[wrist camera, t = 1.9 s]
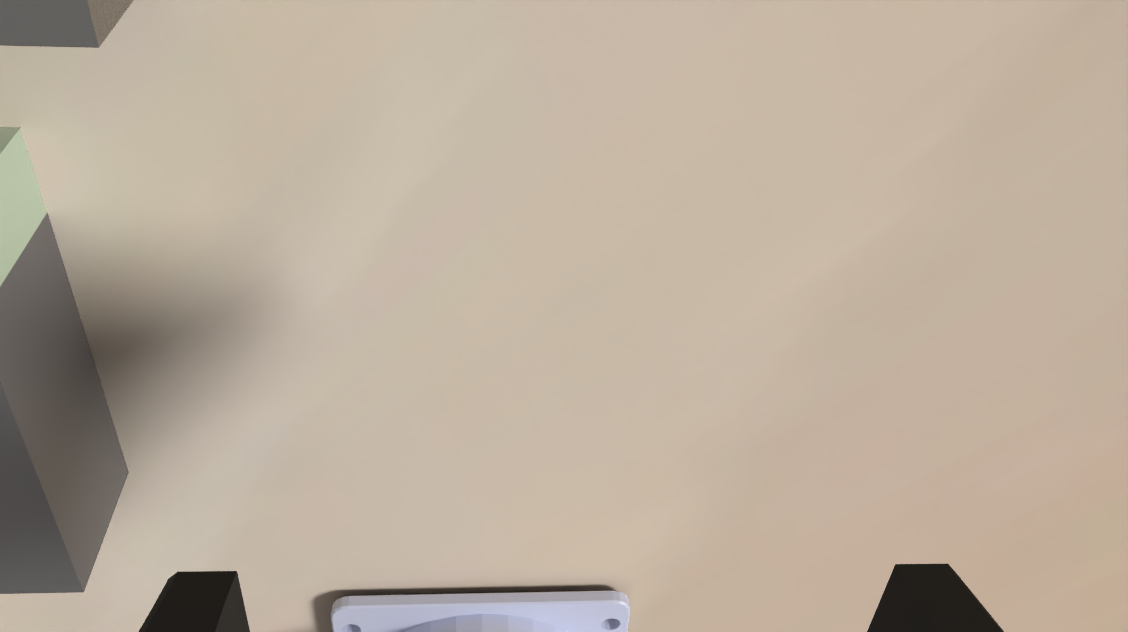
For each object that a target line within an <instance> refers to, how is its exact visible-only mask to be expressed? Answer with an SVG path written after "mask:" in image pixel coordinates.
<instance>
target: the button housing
mask: <svg viewBox="0 0 1128 632" xmlns="http://www.w3.org/2000/svg"><path fill="white" fill-rule="evenodd" d="M132 2H133V0H0V45H8V46H52V47H95V48H99V47H100V45H101V44H102V43H103V41H104V40H105V39H106V37H107V36H108V34H109V33H110V32H111V30H112V29H113V28H114V26H115V25H116V24H117V22H118V21H119V19H120V18H121V17H122V15H123V14H124V13H125V11H126V10H127V8H128V7H129V6H130V4H131V3H132Z"/></svg>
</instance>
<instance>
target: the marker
mask: <svg viewBox="0 0 1128 632" xmlns="http://www.w3.org/2000/svg"><path fill="white" fill-rule="evenodd" d="M127 475H128V469H127V466H126V463H125V460H124V456H123V453H122V450H121V447H120V444H119V440H118V437H117V434H116V431H115V428H114V424H113V421H112V418H111V415H110V412H109V408H108V405H107V402H106V399H105V396H104V392H103V389H102V386H101V383H100V380H99V376H98V373H97V370H96V367H95V364H94V360H93V357H92V354H91V351H90V348H89V344H88V341H87V338H86V335H85V332H84V328H83V325H82V322H81V319H80V316H79V312H78V309H77V306H76V303H75V300H74V296H73V293H72V290H71V287H70V284H69V280H68V277H67V274H66V271H65V268H64V264H63V261H62V258H61V255H60V252H59V248H58V245H57V242H56V239H55V236H54V232H53V229H52V226H51V223H50V220H49V216H48V213H47V210H46V207H45V203H44V200H43V197H42V194H41V191H40V187H39V184H38V181H37V178H36V175H35V171H34V168H33V165H32V162H31V159H30V155H29V152H28V149H27V146H26V143H25V139H24V136H23V133H22V130H21V127H0V594H14V593H67V592H84V590H85V587H86V584H87V582H88V579H89V576H90V574H91V571H92V568H93V566H94V563H95V560H96V558H97V555H98V552H99V550H100V547H101V544H102V542H103V539H104V536H105V534H106V531H107V528H108V526H109V523H110V520H111V518H112V515H113V512H114V510H115V507H116V504H117V502H118V499H119V496H120V494H121V491H122V488H123V486H124V483H125V480H126V478H127Z"/></svg>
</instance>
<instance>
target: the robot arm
mask: <svg viewBox="0 0 1128 632" xmlns="http://www.w3.org/2000/svg"><path fill="white" fill-rule="evenodd" d="M629 617H630V605H629V598H628V597H627V596H626V595H625V594H624V593H621V592H619V591H567V592H517V593H467V594H416V595H366V596H345V597H342V598H339V599H337V600H336V601H335V602H334V603H333V605H332V611H331V624H332V630H333V632H627V630H628V623H629ZM139 632H250V630H249V625H248V621H247V616H246V612H245V607H244V602H243V598H242V593H241V588H240V584H239V579H238V574H237V571H209V572H177V573H176V574H174V575H173V576H172V577H170V578H169V579H168V581H167V583H166V584H165V586H164V588H163V590H162V592H161V594H160V595H159V597H158V599H157V601H156V603H155V604H154V606H153V608H152V610H151V611H150V613H149V615H148V617H147V618H146V620H145V622H144V623H143V625H142V627H141V629H140V630H139ZM867 632H1004V631H1003V630H1002V629H1001V628H1000V626H999V625H998V624H997V623H996V621H995V620H994V619H993V618H992V616H991V615H990V614H989V613H988V612H987V610H986V609H985V608H984V607H983V605H982V604H981V603H980V602H979V600H978V599H977V598H976V597H975V596H974V594H973V593H972V592H971V591H970V589H969V588H968V587H967V586H966V585H965V583H964V582H963V581H962V580H961V578H960V577H959V576H958V575H957V574H956V572H955V571H954V570H953V569H952V568H951V567H950V566H949V564H895V567H894V569H893V572H892V574H891V576H890V579H889V581H888V583H887V586H886V588H885V591H884V593H883V595H882V598H881V600H880V603H879V605H878V607H877V610H876V612H875V614H874V617H873V619H872V622H871V624H870V626H869V629H868V631H867Z"/></svg>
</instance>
